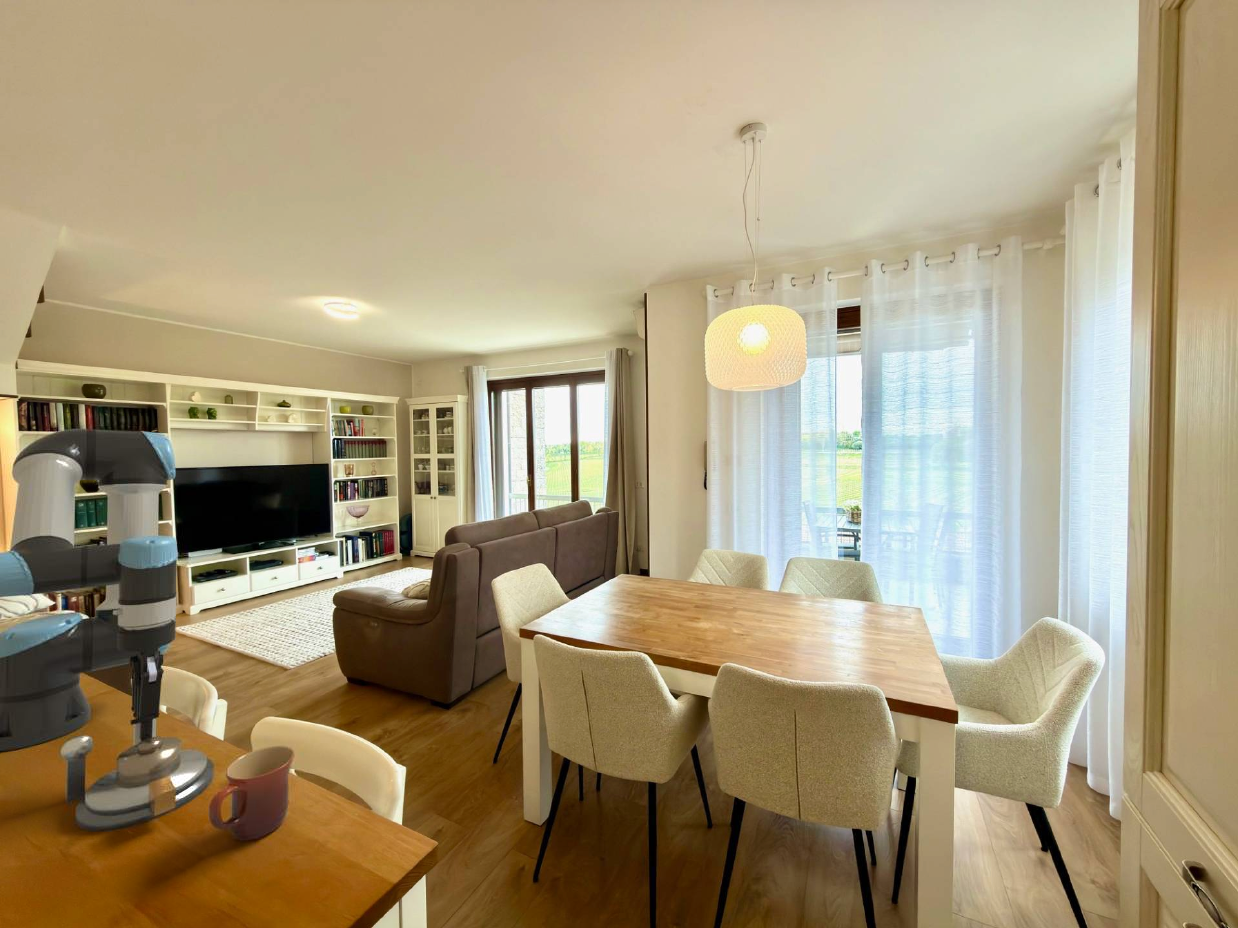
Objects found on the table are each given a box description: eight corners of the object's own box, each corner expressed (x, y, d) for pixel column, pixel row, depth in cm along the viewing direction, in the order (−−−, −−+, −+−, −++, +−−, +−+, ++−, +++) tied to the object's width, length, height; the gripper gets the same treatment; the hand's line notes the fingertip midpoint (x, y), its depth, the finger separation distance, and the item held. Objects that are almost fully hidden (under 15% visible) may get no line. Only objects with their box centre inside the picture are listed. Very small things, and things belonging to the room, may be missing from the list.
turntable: (80, 787, 82) (80, 764, 82) (195, 747, 94) (195, 728, 94) (94, 845, 70) (95, 819, 70) (225, 791, 82) (225, 769, 82)
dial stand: (58, 801, 81) (60, 736, 81) (90, 790, 84) (91, 728, 84) (59, 808, 79) (61, 743, 79) (92, 797, 82) (93, 733, 82)
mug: (262, 802, 82) (263, 742, 82) (306, 811, 80) (307, 749, 80) (185, 859, 70) (187, 788, 70) (235, 870, 68) (236, 797, 68)
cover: (112, 774, 83) (113, 742, 83) (174, 753, 90) (175, 723, 90) (120, 794, 78) (120, 760, 78) (185, 770, 85) (186, 739, 85)
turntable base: (70, 798, 82) (70, 789, 82) (200, 752, 95) (200, 745, 95) (80, 848, 71) (81, 838, 71) (225, 789, 85) (225, 780, 85)
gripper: (112, 620, 88) (108, 750, 88) (123, 637, 80) (119, 779, 80) (167, 611, 94) (164, 732, 94) (183, 625, 86) (180, 758, 86)
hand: (144, 754), depth 87 cm, fingers closed
